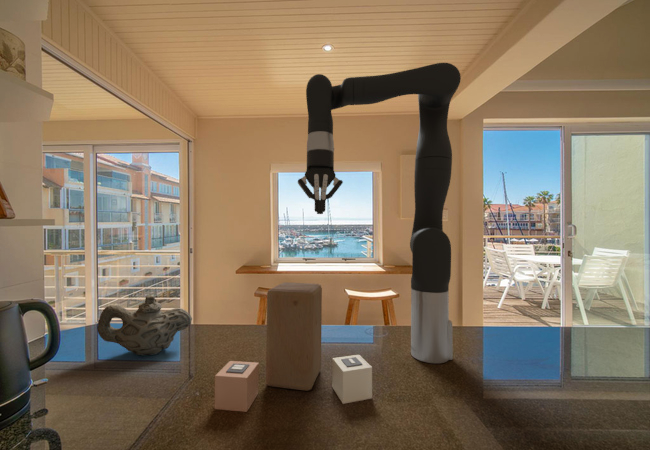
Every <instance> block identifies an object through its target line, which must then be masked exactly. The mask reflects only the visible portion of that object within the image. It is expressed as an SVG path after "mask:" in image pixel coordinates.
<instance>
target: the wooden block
mask: <svg viewBox="0 0 650 450" xmlns="http://www.w3.org/2000/svg"><path fill="white" fill-rule="evenodd" d="M266 296H267V297H266V351H265V353H266V355H265V357H266V358H265V359H266V361H265V362H266V363H265V364H266V366H265V367H266V368H265V383H266V386H269V387H273V388H283V389H291V390H300V391H307V392H308V391H311V390H312V389H313V386H314V385H315V381H316V380H317V377H318V376H319V374H320V371H321V369H322V314H323V313H322V309H323V307H322V306H323V305H322V304H323V301H322V299H323V298H322V297H323V288H322V285H321V284H320V283H308V282H307V283H306V282H285V281H284V282H282V283H280V284H278V285H276V286H274V287H272V288H270V289H268V290H267V293H266Z"/></svg>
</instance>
